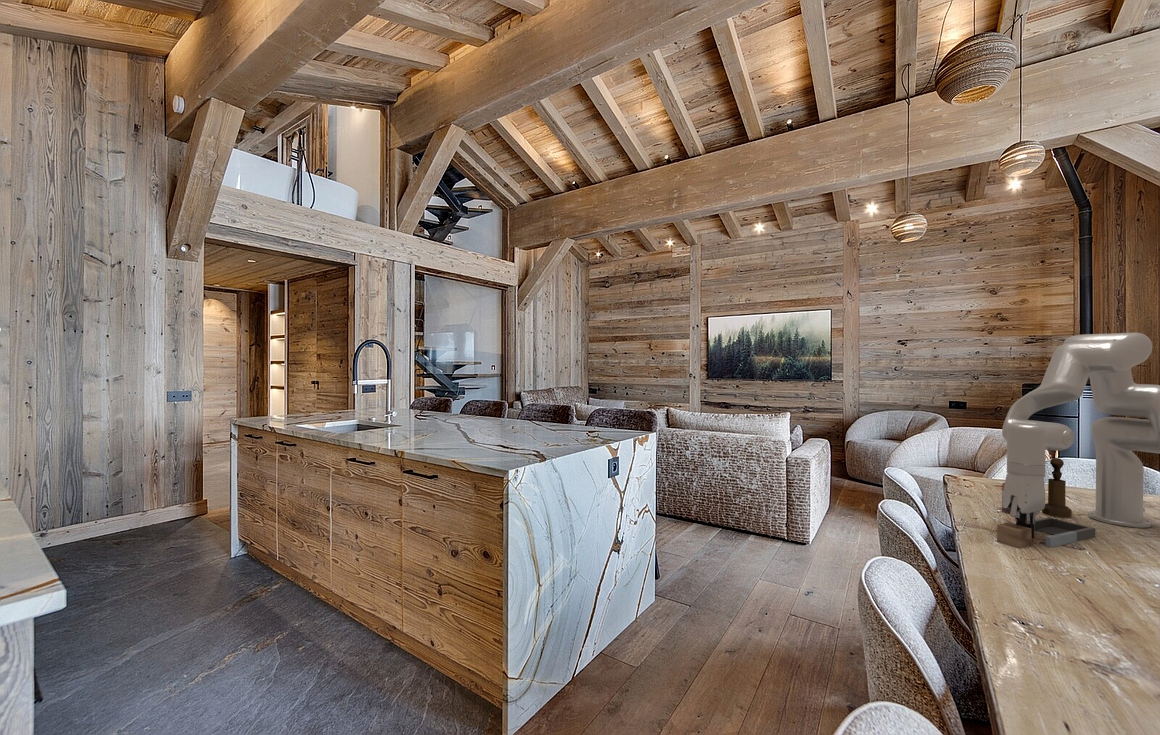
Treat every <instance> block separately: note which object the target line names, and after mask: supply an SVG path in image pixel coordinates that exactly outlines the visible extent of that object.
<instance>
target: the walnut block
mask: <svg viewBox="0 0 1160 735" xmlns="http://www.w3.org/2000/svg"><path fill="white" fill-rule="evenodd" d="M1031 532H1032V529H1031V528H1027V527H1023V526H1020V525H1016V524H1015V523H1011V522H1004V523H999V524H997V525H996V542H999V543H1001V544H1004V545H1008V546H1011V547H1014V548H1018V549H1024V548H1027V547H1031V546H1032V539H1031Z"/></svg>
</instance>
